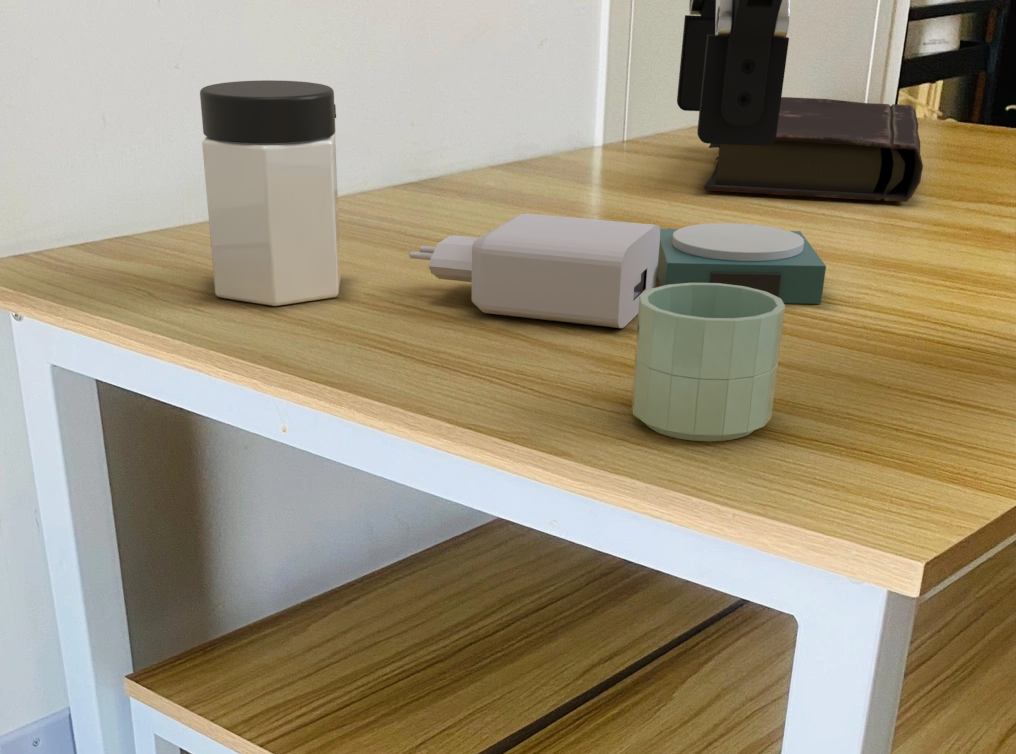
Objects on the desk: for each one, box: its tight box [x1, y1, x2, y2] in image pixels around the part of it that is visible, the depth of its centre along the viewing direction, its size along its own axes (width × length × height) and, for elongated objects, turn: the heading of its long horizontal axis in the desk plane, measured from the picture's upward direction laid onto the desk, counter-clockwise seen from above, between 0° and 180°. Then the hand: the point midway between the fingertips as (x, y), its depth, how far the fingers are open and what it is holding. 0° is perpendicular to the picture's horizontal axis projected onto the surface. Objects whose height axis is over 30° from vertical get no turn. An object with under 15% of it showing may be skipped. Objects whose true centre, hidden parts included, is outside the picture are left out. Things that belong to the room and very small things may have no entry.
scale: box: [657, 222, 827, 305], centre depth 91 cm, size 10×10×3 cm
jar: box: [199, 79, 342, 307], centre depth 86 cm, size 9×8×12 cm
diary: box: [702, 96, 924, 203], centre depth 125 cm, size 19×25×5 cm
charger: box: [408, 213, 661, 329], centre depth 86 cm, size 5×9×15 cm
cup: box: [631, 283, 786, 442], centre depth 67 cm, size 7×7×6 cm
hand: (722, 125), depth 61 cm, fingers open, 9 cm apart
